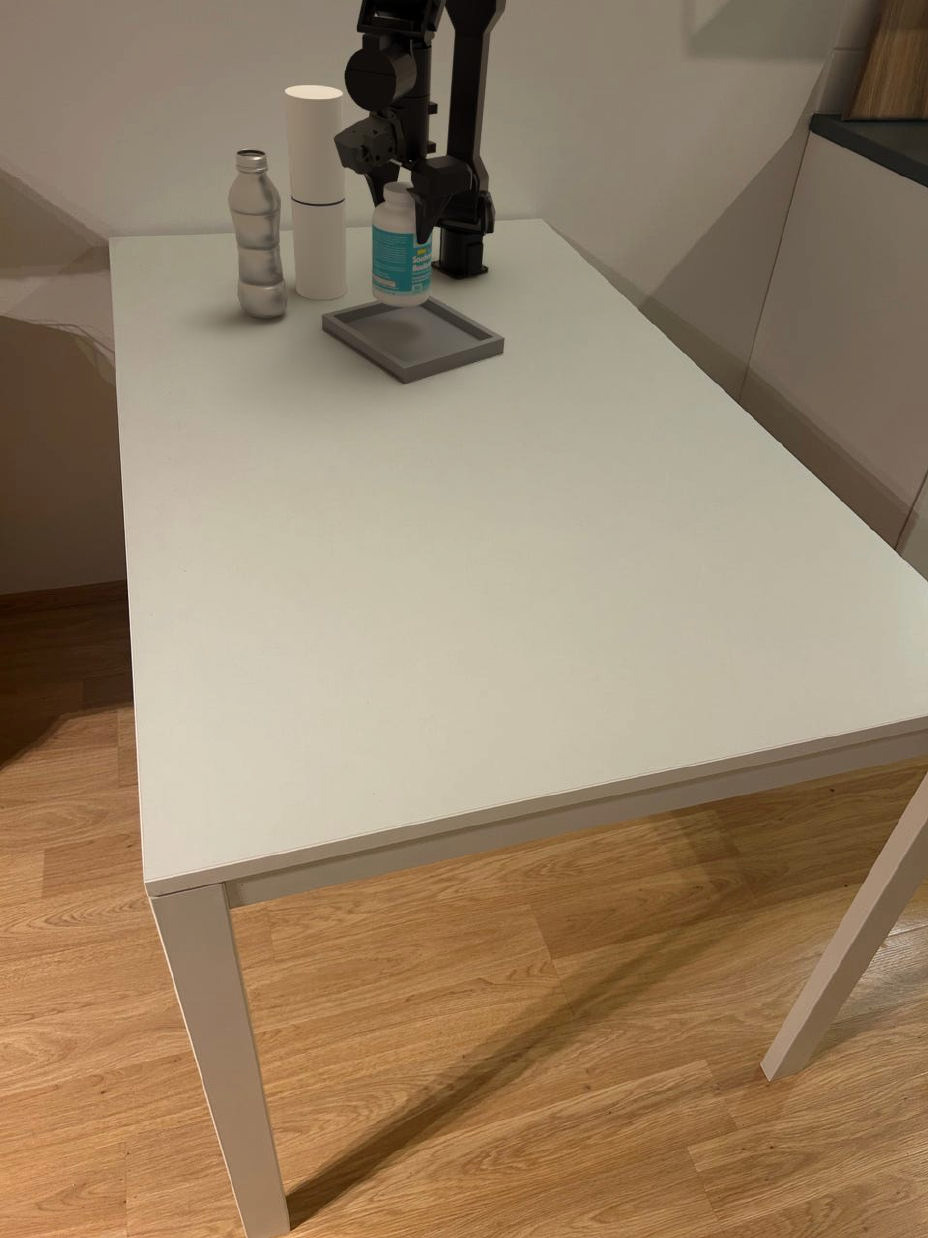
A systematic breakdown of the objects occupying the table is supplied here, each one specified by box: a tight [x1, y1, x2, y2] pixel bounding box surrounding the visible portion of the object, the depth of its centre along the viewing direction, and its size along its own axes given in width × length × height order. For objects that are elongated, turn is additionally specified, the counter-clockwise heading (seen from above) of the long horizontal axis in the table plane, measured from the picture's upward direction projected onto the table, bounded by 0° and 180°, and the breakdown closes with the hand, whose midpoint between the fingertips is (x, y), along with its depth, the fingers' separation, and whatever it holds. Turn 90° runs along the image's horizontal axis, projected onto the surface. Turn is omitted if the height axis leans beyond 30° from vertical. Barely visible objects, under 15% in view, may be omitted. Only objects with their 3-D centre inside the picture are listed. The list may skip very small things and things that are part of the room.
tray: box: [321, 295, 506, 385], centre depth 121 cm, size 18×16×2 cm
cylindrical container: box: [284, 84, 348, 301], centre depth 124 cm, size 7×7×25 cm
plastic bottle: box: [227, 148, 289, 319], centre depth 118 cm, size 6×7×20 cm
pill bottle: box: [371, 181, 433, 307], centre depth 115 cm, size 8×7×14 cm
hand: (402, 233), depth 115 cm, fingers closed on pill bottle, 7 cm apart
